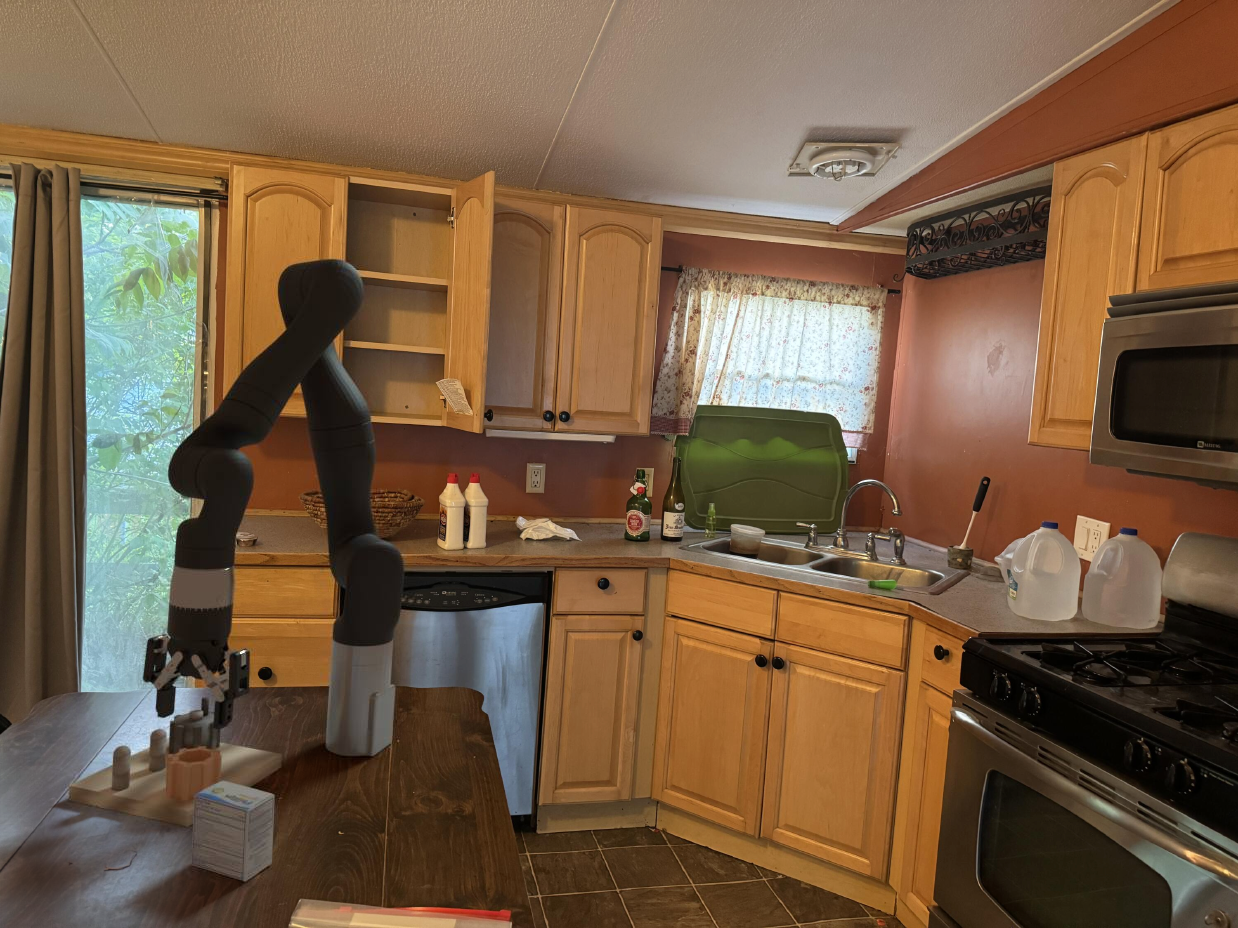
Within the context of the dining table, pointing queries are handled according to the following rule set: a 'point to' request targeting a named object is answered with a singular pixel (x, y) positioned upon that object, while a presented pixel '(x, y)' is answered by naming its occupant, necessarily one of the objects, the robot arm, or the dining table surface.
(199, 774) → the loose gear
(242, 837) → the medicine box
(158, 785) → the gear board
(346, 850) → the dining table surface
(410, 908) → the dining table surface
